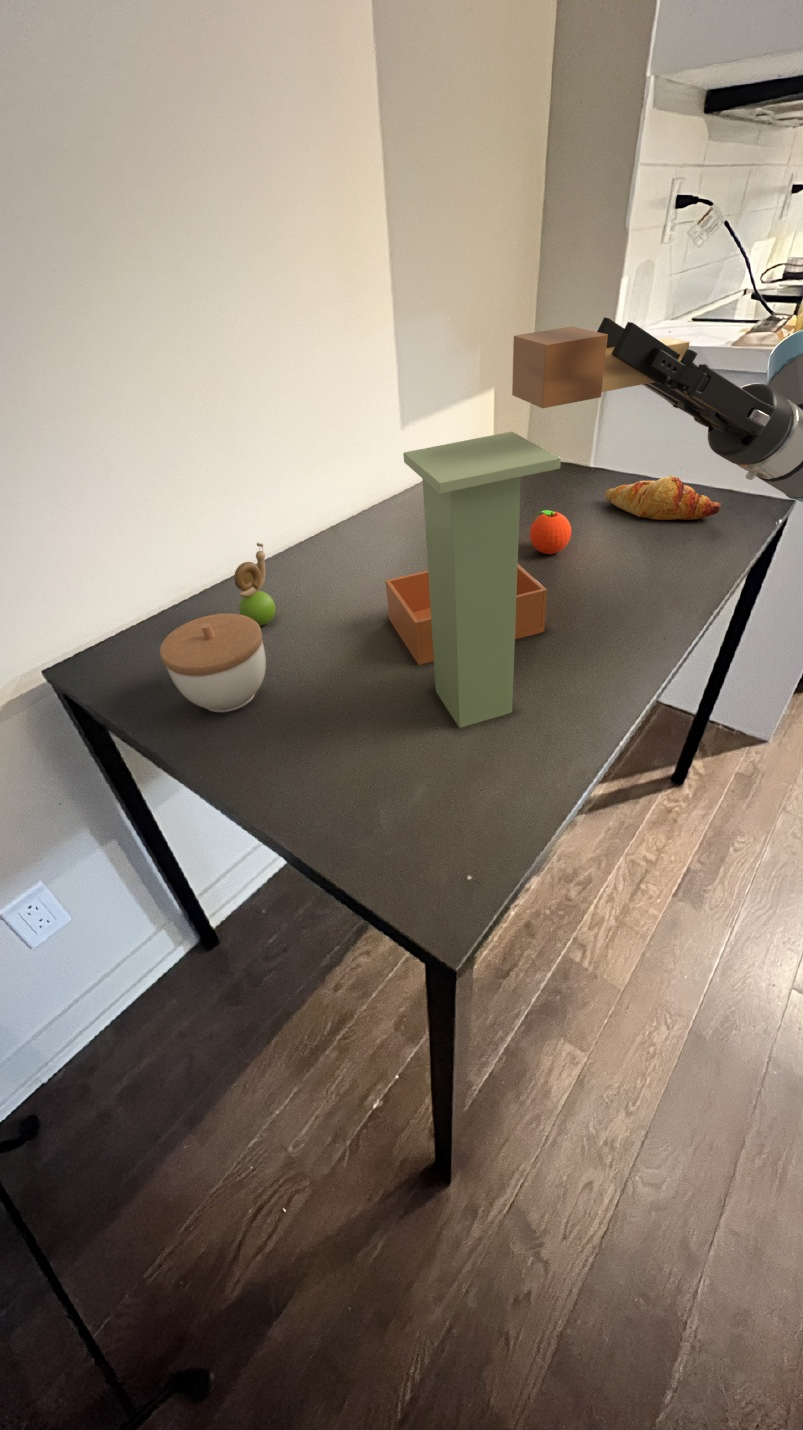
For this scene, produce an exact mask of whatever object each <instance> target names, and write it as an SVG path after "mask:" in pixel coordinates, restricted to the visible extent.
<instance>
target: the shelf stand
mask: <svg viewBox="0 0 803 1430" xmlns="http://www.w3.org/2000/svg"><path fill="white" fill-rule="evenodd" d="M561 462H562V458H561V456H558V455H556V454H554V453H553V452H551V451H549V450H547V449H546V448H543V447H541V446H539V444H536V443H534V442H532V441H530V440H528V439H527V438H525V437H523V436H521V435H519V434H518V433H516V432H515V431H507V432H502V433H496V434H492V435H487V436H481V437H477V438H476V437H475V438H471V439H466V440H461V441H456V442H450V443H446V444H440V445H435V446H430V447H424V448H420V449H415V450H414V449H413V450H410V451H409V450H408V451H404V452H403V463H404V464H405V465H406V466H408V467H409V468H410V469H411V470H412V471H413V472H414V473H415V474H417V475H418V477H420V478H421V479H422V492H423V508H424V509H423V510H424V524H425V525H424V526H425V542H426V557H427V558H426V559H427V571H428V575H429V591H430V607H431V623H432V639H433V655H434V661H433V669H434V683H435V684H434V686H435V692H436V694H437V696H438V697H439V699H440V700H441V702H442V703H443V705H444V706H445V708H446V710H447V711H448V713H449V714H450V716H451V717H452V719H453V720H454V722H455V723H456V725H457V726H458V728H464V727H468V726H470V725H475V724H477V723H481V722H484V721H488V720H491V719H492V720H493V719H494V718H498V717H502V716H505V715H508V714H512V713H513V698H514V697H513V696H514V671H515V670H514V668H515V644H516V642H515V641H516V639H515V618H516V591H517V564H518V565H519V563H518V562H519V560H518V559H519V536H520V535H519V533H520V509H521V508H520V505H521V482H522V481H521V480H522V479H521V477H526V476H531V475H536V474H540V473H545V472H550V471H555V470H559V469H561Z"/></svg>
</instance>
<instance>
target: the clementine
mask: <svg viewBox="0 0 803 1430" xmlns="http://www.w3.org/2000/svg"><path fill="white" fill-rule="evenodd" d="M541 513H542V514H541ZM539 514H540V515H539ZM571 537H572V526H571V523H570V521H569V520H568V519H567V517H566V516H565V515H563V514H562V513H560V512H558V511H553V510H549V509H545V510H541V511H539V512H537V513H536V515H535V519H534V521H533V522H532V524H531V526H530V530H529V540H530V542H531V544H532V546H533V548H535V550H537V551H538V552H540V553H542V554H546V555H553V554H556V553H559V552H561V551H563V550H564V549H565V548H566V546H567V545H568V544H569V542H570V540H571Z"/></svg>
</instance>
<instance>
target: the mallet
mask: <svg viewBox="0 0 803 1430" xmlns="http://www.w3.org/2000/svg"><path fill="white" fill-rule="evenodd" d="M607 337H608V334H603V333H599V332H597V331H594V330H591V329H590V330H589V329H585V328H581V327H575V326H565V327H559V328H553V329H548V330H540V331H535V332H529V333H528V332H527V333H523V334H515V335H513V344H512V345H513V347H512V348H513V349H512V350H513V352H512V383H511V384H512V385H511V386H512V387H511V391H512V392H511V396H513V397H515V398H518V399H520V400H522V401H525V402H527V403H529V404H532V405H534V406H536V407H538V408H541V409H546V408H553V407H557V406H562V405H567V404H572V403H578V402H584V401H589V400H594V399H599V398H602V393H605V392H609V391H616V390H619V389H621V390H622V389H626V388H632V387H637V386H643V385H642V384H648V383H653V382H655V381H653V380H652V379H650V378H649V377H647V376H645V375H644V374H642V373H641V372H639V371H637V370H636V369H634V368H633V367H631V366H629V365H628V364H626V363H625V362H623V361H621V360H620V359H618V358H617V357H615V356H613V355H612V354H611V353H612V352H613V350H614V348H615V347H611V348H606V347H607ZM657 339H658V340H659V341H661V342H662V343H664V344H665V345H666V346H668V347H669V348H671V349H672V350H674V351H675V352H677V353H678V354H680V357H679V358H678V361H681V359H682V357H683V356H684V354H685V352H686V350H687V349H689V350H690V343H691V342H690V341H689V340H685V339H680V338H675V337H670V336H669V337H664V338H657ZM666 380H669V379H668V378H667V379H666Z"/></svg>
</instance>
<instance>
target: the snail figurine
mask: <svg viewBox="0 0 803 1430" xmlns="http://www.w3.org/2000/svg"><path fill="white" fill-rule="evenodd" d="M256 546H257V547H258V549H259V550H258V551H256V553H255V559H256V561H257V564H255V562H251V561H245V562H242V563H241V564H239V565H238V566H237V568H236V569H235V571H234V574H233V575H234V576H233V580H234V584H235V586H236V588H237V589H238V590H241V591H240V592H239V593H238V595H239V596H240V597H242V598H241V600H240V602H239V606H238V607H239V608H238V609H239V614H240V615H244V616H247V617H249V618H251V619H253V620H254V621H256V622H257V623H258V625H259V626H260V627H262V626H266V625H267V624H269V623H270V622H271V621H272V620H273V619H274V617H275V615H276V603H275V601H274V599H273V598H272V596H271V595H269V594H268V593H267V592H265V591H262V590H261V588H263V586H264V584H265V581H266V573H267V571H266V562H265V561H266V560H265V559H266V558H265V557H266V554H265V552H264V544H263V543H260V542H257V543H256ZM261 548H262V549H261Z"/></svg>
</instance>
